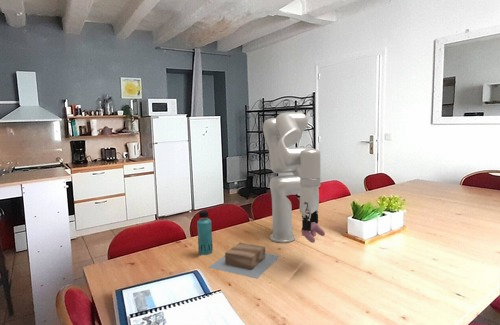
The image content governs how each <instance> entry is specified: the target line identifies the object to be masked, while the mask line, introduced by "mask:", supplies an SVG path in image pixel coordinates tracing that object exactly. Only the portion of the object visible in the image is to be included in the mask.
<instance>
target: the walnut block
mask: <svg viewBox="0 0 500 325" xmlns="http://www.w3.org/2000/svg"><path fill="white" fill-rule="evenodd" d="M265 253H266V246H263V245H262V246H261V245H257V244H256V245H255V244H250V243H244V242H239V243H237V244H235V245H234V246H232V247H231V248H230V249H228V250H227V251H225V253H224V256H225V263H226V265H230V266H235V267H239V268H244V269H248V270H253V269H254V268H255V267H256V266H257V265H258V264H259V263H261V262H262V261H263V260H264V259H265Z"/></svg>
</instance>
